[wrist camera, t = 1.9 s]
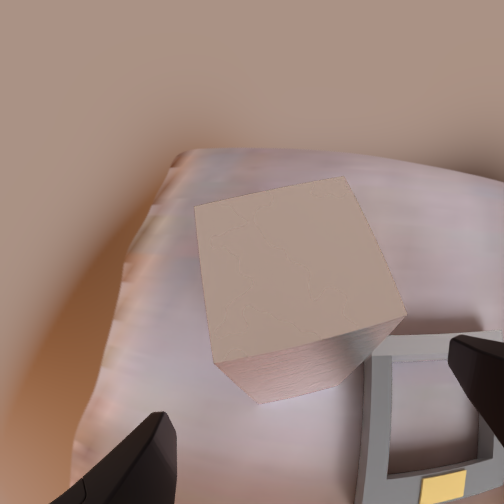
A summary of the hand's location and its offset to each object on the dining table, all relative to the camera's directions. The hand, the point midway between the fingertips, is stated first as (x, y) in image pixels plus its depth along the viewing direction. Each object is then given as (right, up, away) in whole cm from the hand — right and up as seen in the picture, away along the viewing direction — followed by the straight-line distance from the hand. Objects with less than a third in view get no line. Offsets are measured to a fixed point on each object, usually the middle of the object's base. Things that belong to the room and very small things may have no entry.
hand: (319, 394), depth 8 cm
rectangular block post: (0, -3, +11) cm, 11 cm away
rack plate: (+10, -6, +7) cm, 14 cm away
